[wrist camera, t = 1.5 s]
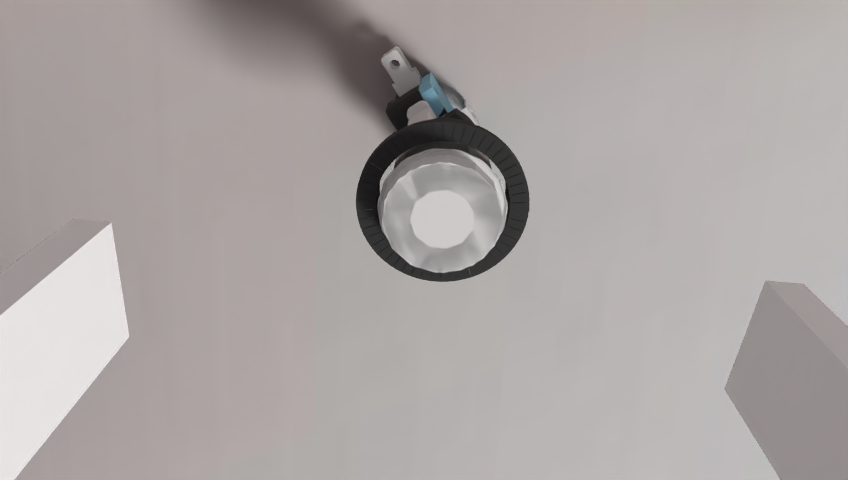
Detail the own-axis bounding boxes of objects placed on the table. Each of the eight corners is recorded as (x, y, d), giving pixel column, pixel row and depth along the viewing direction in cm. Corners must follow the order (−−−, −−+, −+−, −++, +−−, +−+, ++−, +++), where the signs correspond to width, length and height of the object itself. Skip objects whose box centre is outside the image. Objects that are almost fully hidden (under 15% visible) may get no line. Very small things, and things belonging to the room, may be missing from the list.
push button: (340, 81, 26) (287, 154, 17) (447, 10, 25) (449, 50, 16) (423, 203, 29) (414, 324, 20) (524, 145, 27) (565, 246, 18)
